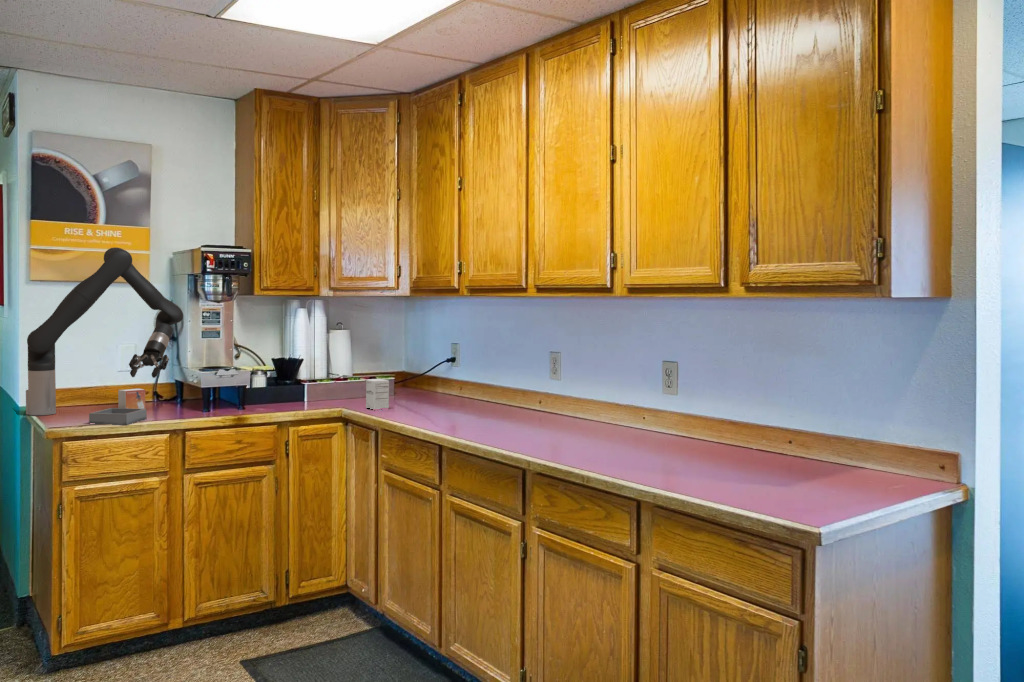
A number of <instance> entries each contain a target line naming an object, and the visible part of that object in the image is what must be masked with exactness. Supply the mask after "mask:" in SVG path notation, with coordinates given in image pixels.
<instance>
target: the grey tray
mask: <svg viewBox="0 0 1024 682" xmlns="http://www.w3.org/2000/svg"><path fill="white" fill-rule="evenodd" d="M147 414H148V413H147V408H145V409H132V408H118V407H109V408H105V409H100V410H97V411H93V412H88V424H89V423H95V424H94V425H98V424H112V425H111V426H129V425H131V424H132V423H133V424H135V423H134V422H136V423H138V422H137V421H139V422H142V421H141V420H143V421H146V420H147ZM145 419H146V420H145Z"/></svg>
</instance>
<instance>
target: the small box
mask: <svg viewBox="0 0 1024 682" xmlns="http://www.w3.org/2000/svg"><path fill="white" fill-rule="evenodd" d="M117 391H118V395H117V396H118V399H117V400H118V407H117V408H132V409H146V389H143V388H138V387H137V388H130V389H129V388H127V389H118V390H117Z"/></svg>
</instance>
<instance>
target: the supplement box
mask: <svg viewBox="0 0 1024 682" xmlns="http://www.w3.org/2000/svg"><path fill="white" fill-rule="evenodd" d="M365 381H366V382H365V386H366V387H365V390H366V391H365V409H366V408H370V409H380V408H389V409H390V380H388V379H383V378H371V379H369V378H368V379H366V380H365ZM370 409H369V410H370Z"/></svg>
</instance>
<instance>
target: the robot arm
mask: <svg viewBox="0 0 1024 682" xmlns="http://www.w3.org/2000/svg"><path fill="white" fill-rule="evenodd" d="M119 277H121V278H122V279H123V280H124V281H125V282H126V283H127V284H128V285H129V286H130V287H131V288H132V289H133V291H135V292H136V294H137V295H138V296H139V297H140V299H142V301H144V303H146V305H147V306H148V307H149V308H150V309H151V310H153V311H159V312H158V313H157V315H156V318H155V327H154V329H153V331H152V333H151V335H150V336H149V338H148V340H147V343H146V345H145V347H144V349H143V352H142V354H141V355H138V354H137V353H136V354H135V353H134V354H133V356H132V358H131V359H130V361H129V363H128V366H129V368H130V369H131V370H130V372H129V374H130V377H131V378H135V377H136V375H137V374H138V373H137V372H138V370H139V369H142V368H144V367H154V366H155V367H154V368H153V369H152V372H151V377H152V378H153V379H155V378H156V377H157V376H158V375H159V372H161V370H163V371H165V370H166V369H167V366H168V364H169V363H168V362H169V360H170V358H169V357H168V355H167V354H165V353H166V350H167V348H168V346H169V343H170V340H171V337H172V335H173V332H174V330H173V327H172V325H175V324H178V323H180V322H181V321H182V320H183V319H184V313H183V311H182V309H181V307H179V306H178V305H177V304H175V303H174V302H173V301H171V300H170V299H168V298H166V297H165V296H164V295H163V294H162V292H161V291H159V289H157V287H155V285H154V284H153V283H152V282H150V281H149V280H148V279H147V278H146V277H145V276H144V275H143V274H141V272H139V270H138V269H137V268H136V267H135V266H134V264H133V257H132V254H130V252H129V251H127V250H126V249H123V248H121V247H110V248H109V249H107V250H106V251H105V252H104V254H103V263H102V265H100V267H99V268H98V269H97V270H96V271H95V272H93V274H91V275H90V276H88V277H87V278H84V280H82V281H80V282H79V283H78V284H76V285H75V286H74V287H73V288H72V289H71V291H70V292H68V294H67V295H66V296H65V297H64V298H62V300H61V302H60V303H59V304H58V306H56V308H55V310H54V312H52V314H51V315H50V316H49V317H48V318H47V319H46V320H45V321H44V322H42V324H39V326H38V327H37V328H35V329H34V330H32V331H31V332H30V333H29V334H28V335H27V339H26V343H27V389H25V414H26V415H29V416H48V415H55V414H57V393H56V384H57V383H56V343H57V341H59V339H60V338H61V336H63V334H64V333H65V332H66V330H67V329H69V327H71V326H72V325H73V324H74V323H75V322H77V321H78V320H79V319H80V318H82V317H83V315H84V314H86V313H87V312H88V311H89V310H90V309H91V308H92V307H93V305H94V304H95V303H96V302H97V301H98V300H99V298H100V297H102V295H103V294H104V293H105V292H106V291H107V289H108V288H109V287H110V286H111V285H112V284H114V282H115V281H116V280H117V279H119ZM159 362H161V363H160V364H159Z"/></svg>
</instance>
